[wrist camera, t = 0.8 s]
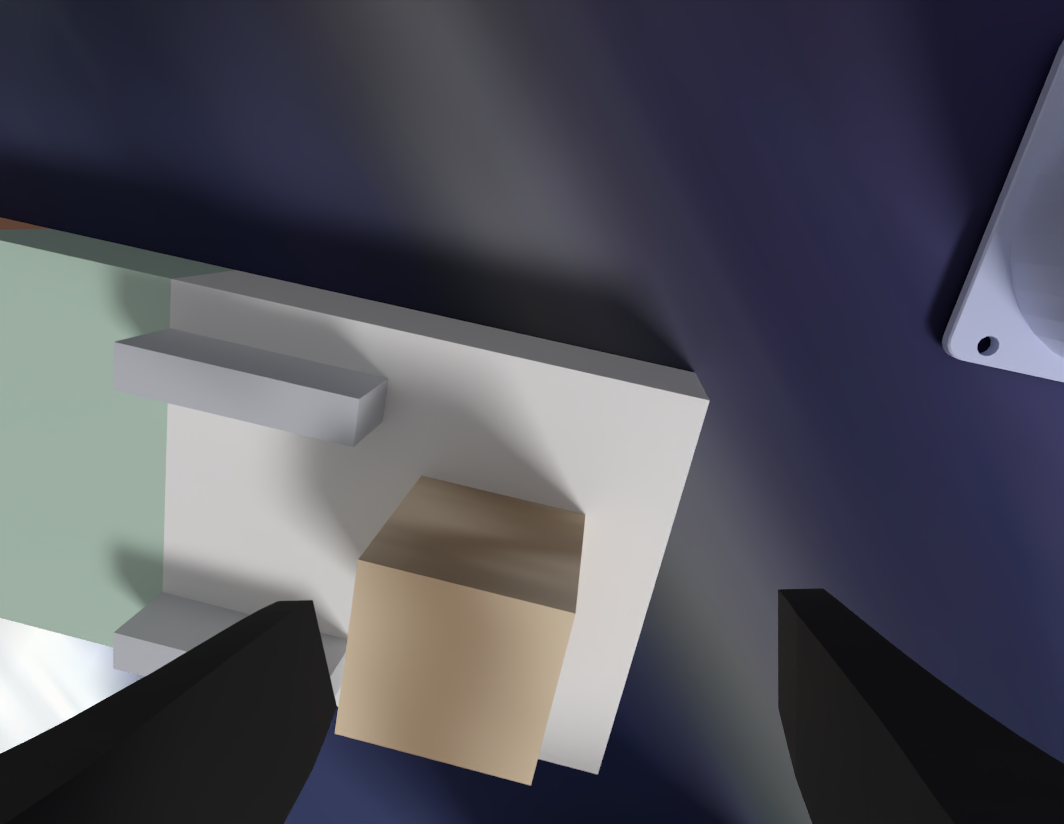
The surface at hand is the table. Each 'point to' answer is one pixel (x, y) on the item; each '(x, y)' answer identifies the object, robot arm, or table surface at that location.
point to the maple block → (461, 628)
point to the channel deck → (302, 455)
